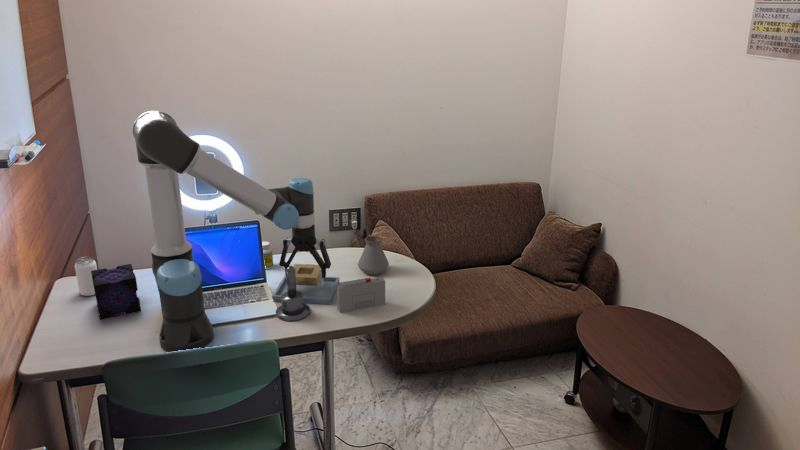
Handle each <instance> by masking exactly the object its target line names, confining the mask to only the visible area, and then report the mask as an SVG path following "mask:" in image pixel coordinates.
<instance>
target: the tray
mask: <svg viewBox="0 0 800 450" xmlns="http://www.w3.org/2000/svg"><path fill="white" fill-rule="evenodd" d="M323 282H324V284H323V287H322V288H320V281H319V283H318V285H317V286H306V285H296V291H298V292H301V293H302V294H303V299H304V304H311V305H313V304H314V305H329V306H330V305H332V304H331V303H332V302H333V299H334V296H335V294H336V293H337V285H338V284H340V277H339V276H326V277H325V278H323ZM286 292H287V276H286V275H285V274H284V276H283V278H282V280H281V281H280V282H279V284H278V285H277V287H276V289H275V290H274V292H273V294H272V295H271V298H272V299H273V300H274V301H275V302H277V303H281V296H282V294H284V293H286ZM272 299H271V300H272ZM274 301H273V302H274Z"/></svg>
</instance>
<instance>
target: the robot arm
mask: <svg viewBox="0 0 800 450" xmlns="http://www.w3.org/2000/svg"><path fill="white" fill-rule="evenodd" d="M132 135H133V138H134V141H135V147H136V154H137V161H138V163H139V164H140V165H142V166H143V167H144V170H145V176H146V183H147V185H146V186H147V190H148V191H147V192H148V198H149V206H150V207H149V208H150V213H151V220H152V228H153V235H154V242H155V244H154V245H153V246H152V247H151V249H150V254H151V260H152V261H151V262H152V264H151V271H152V274H153V276H154V279H155V283H156V288H157V290H158V294H159V300H160V308H161V313H162V322H161V327H160V331H159V335H158V337H159V344H160V347H161V348H162V349H163V350H165V351H167V352H169V351H178V350H186V349H193V348H199V347H202V348H204V347H206V346H207V345H208V344H210V343H211V342H212V341H213V339H214V337H215V334H214V333H215V332H214V327H213V325H212V323H211V321H210V319H209V317H208V315H207V314H206V309H205V301H204V292H203V282H202V279H203V277H202V273H201V269H200V267H199V265H198V264H197V263H196V262H194V252H193V245H192V243H191V242H190V241H187V239H186V238H187V237H186V229H185V222H184V221H185V220H184V214H183V213H184V212H183V205H182V196H181V187H180V179H179V175H184V174H187V175H188V176H191V177H192V178H193V179H196V180H198V181H199V182H201V183H203V184H205V185H207V186H208V187H210V188H212V189H214V190H215V191H218V192H219V193H221V194H223V195H225V196H226V197H228V198H229V199H232V200H233V201H235V202H237V203H239V204H240V205H242V206H244V207H246V208H248V209H249V210H251V211H253V212H254V213H255V214H256V215H261V216H262V217H263V218H265V219H267V220H269V221H270V222H272V223H273V224H274V225H275V226H276V227H277V228H279V229H281V230H291V233H292V234H291V235H292V238H288V237H285V238H284V239H283V241H282V243H283V244H282V245H283V247H282V251H281V254H280V255H281V256H280V259H279V263H278V265H279V266H280V267H283V268H284V276H285V275H286V269H287V268H288V267H289V266H291V263H292V261H293V260H294V258H295V256H296V254H297V253H298V252H306V253H310V255H311V256H312V257H313V258H314V260H315V262H316V263H317V265H319V266H320V269H319V280H320V288H322V287H323V284H324V282H323V278H325V277H327V269H328V270H329V269H330V268H331V266H332V262H331V259H330V255H329V254H328V251H327V247H326V239H324V238H322V239H317V238H316V225H315V223H316V222H315V207H314V205H315V204H314V203H315V202H314V201H315V199H314V198H315V197H314V194H315V192H314V186H313V181H312V180H311V179H310V178H308V177H294V178H291V179H289V183H288V186H283V187H277V188H266V187H264V186H263V185H261V184H259V182H256V181H254V180H253V179H250V178H249V177H248V176H246V175H244V174H243V173H241V172H240V171H238V170H236V169H235V168H233V167H231V166H229V165H228V164H226V163H225V162H224V161H223V162H222V161H221V160H219V159H218V158H216V157H214V156H213V155H211V154H209V153H208V152H206V151H204V150H203V149H202V148H201V145H200V143H198V142H197V141H195V140H194V139H192V138H190V137H189V136H188V135H187V134H186V133H185V132H183V130H182V129H181V128H180V127H179V126H178V124H177V122H176V120H175V119H174V118H173V116H171V115H169V114H167V113H166V112H164V111H160V110H149V111H145V112H143V113H142V114H140V115H139V116H138V117H137V118H136V120H134V124H133V126H132ZM291 244H292V245H293V246H294V249H293V250H292V253H291V254H290V256H289V257H288V259H287V261H286V258H287V254H288V251H289V246H290V245H291ZM315 245H317V247H319V250H320V253H321V254H319V252H318V250H317V248H316V247H315ZM321 256H322V257H321ZM286 276H287V275H286Z"/></svg>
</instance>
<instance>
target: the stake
mask: <svg viewBox="0 0 800 450" xmlns="http://www.w3.org/2000/svg"><path fill="white" fill-rule="evenodd" d="M293 266H294V265H289V267H288V268H287V269H286V275H287V292H286V293H284V294H282V296H281V302H280V303H281V305H279V306H278V307H277V308H276V309H275V317H276V318H277V319H279V320H281V321H284V322H298V321H302V320H304V319H306V318H308V317H309V315H310V314H311V308H310V306H309V304H307V303H304V299H303V294H302V293H301V292H298V291H296V274H295V268H294V267H293Z"/></svg>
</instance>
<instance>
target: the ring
mask: <svg viewBox="0 0 800 450" xmlns="http://www.w3.org/2000/svg"><path fill="white" fill-rule="evenodd" d="M292 266H293V267H294V268H295V274H296V285H306V286H317V285H318V283H319V281H320V280H319V269H320V266H319V265H318V264H311V263H309V264H308V263H306V264H302V263H294V265H292Z"/></svg>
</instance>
